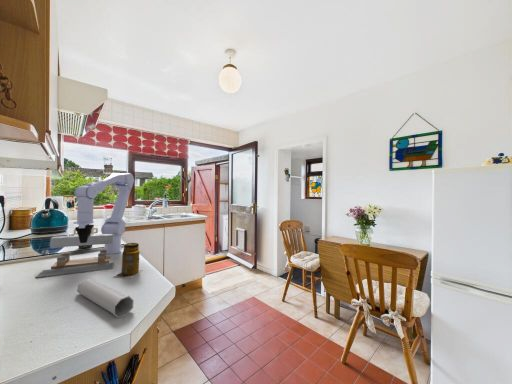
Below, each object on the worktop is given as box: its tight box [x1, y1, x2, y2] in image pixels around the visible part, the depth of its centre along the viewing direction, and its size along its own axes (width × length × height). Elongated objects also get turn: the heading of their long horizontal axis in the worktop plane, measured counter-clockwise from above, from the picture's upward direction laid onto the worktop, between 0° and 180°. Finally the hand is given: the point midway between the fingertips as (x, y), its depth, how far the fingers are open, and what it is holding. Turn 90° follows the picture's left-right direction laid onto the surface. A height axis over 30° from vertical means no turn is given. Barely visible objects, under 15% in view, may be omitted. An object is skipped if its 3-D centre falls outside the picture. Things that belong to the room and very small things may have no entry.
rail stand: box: [50, 248, 112, 269], centre depth 97 cm, size 8×20×4 cm, turn 120°
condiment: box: [113, 242, 144, 279], centre depth 86 cm, size 7×8×12 cm
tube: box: [76, 277, 134, 319], centre depth 64 cm, size 5×5×25 cm
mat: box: [34, 261, 115, 279], centre depth 89 cm, size 8×24×1 cm, turn 120°
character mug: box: [73, 223, 99, 249], centre depth 122 cm, size 11×7×13 cm, turn 125°
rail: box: [49, 233, 114, 249], centre depth 97 cm, size 4×22×4 cm, turn 120°
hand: (84, 241), depth 97 cm, fingers closed on rail, 4 cm apart
